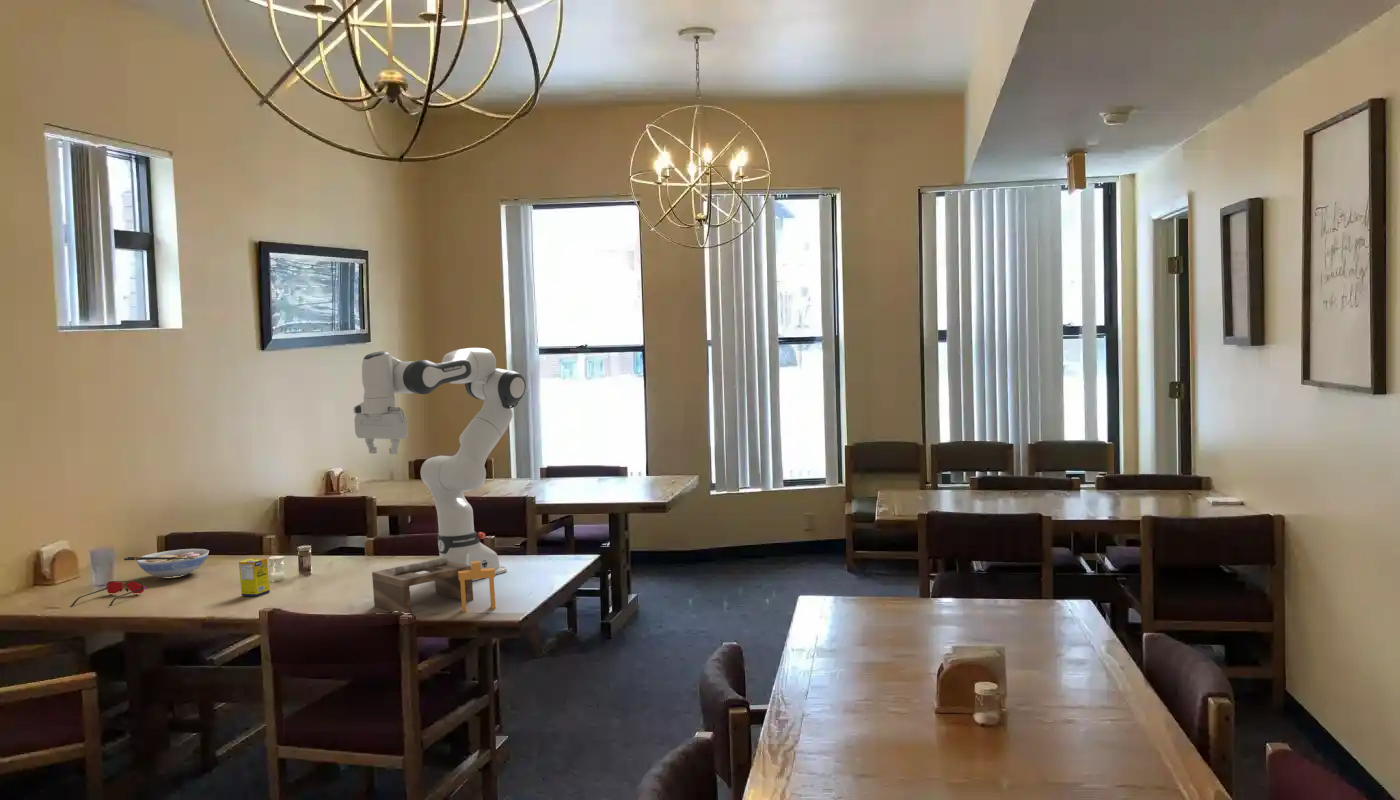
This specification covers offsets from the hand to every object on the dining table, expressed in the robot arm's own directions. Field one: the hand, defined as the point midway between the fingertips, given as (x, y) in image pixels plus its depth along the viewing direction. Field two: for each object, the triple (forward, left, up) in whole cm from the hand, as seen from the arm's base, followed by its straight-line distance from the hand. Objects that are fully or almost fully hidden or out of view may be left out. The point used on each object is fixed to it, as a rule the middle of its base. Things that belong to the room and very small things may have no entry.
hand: (383, 453), depth 325 cm
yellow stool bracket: (-9, +33, -44) cm, 55 cm away
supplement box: (+24, -43, -44) cm, 66 cm away
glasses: (+57, -76, -44) cm, 105 cm away
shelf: (-3, +13, -44) cm, 45 cm away
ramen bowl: (+31, -96, -44) cm, 110 cm away
